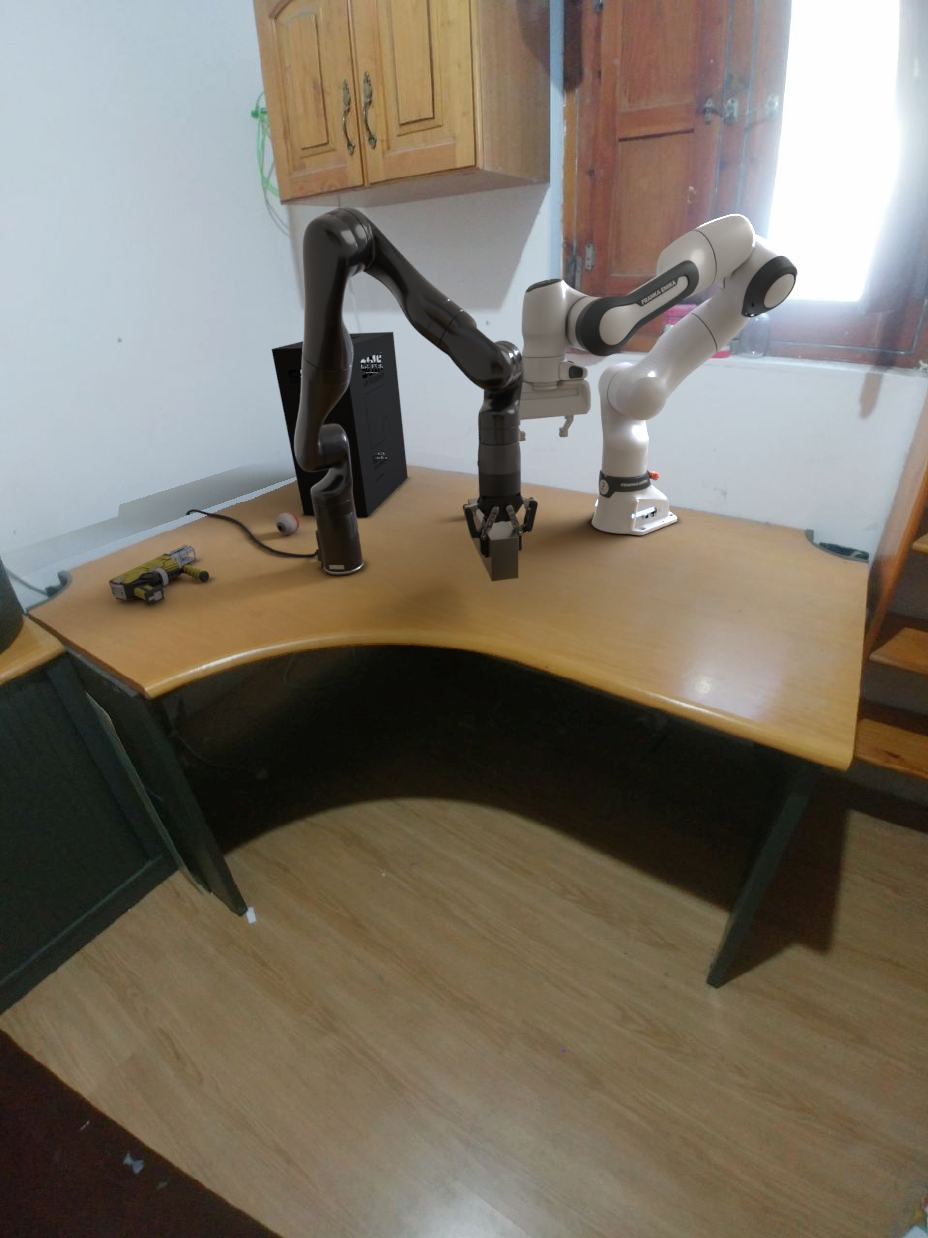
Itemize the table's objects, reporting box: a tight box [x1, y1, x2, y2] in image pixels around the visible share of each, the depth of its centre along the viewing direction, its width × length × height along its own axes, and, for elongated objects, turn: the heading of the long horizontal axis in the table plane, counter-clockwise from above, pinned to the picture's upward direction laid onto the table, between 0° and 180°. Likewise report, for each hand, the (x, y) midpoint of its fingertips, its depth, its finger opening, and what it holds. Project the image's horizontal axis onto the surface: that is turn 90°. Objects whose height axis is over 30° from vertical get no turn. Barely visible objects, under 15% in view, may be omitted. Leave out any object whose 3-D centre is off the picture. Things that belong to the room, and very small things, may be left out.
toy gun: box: [108, 544, 210, 607], centre depth 141 cm, size 5×24×15 cm
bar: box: [467, 497, 520, 582], centre depth 122 cm, size 24×5×8 cm, turn 10°
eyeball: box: [275, 511, 300, 536], centre depth 163 cm, size 6×6×6 cm
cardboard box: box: [271, 331, 409, 518], centre depth 180 cm, size 38×20×45 cm, turn 167°
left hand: (501, 554), depth 115 cm, fingers closed on bar, 5 cm apart
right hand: (542, 438), depth 130 cm, fingers open, 8 cm apart
